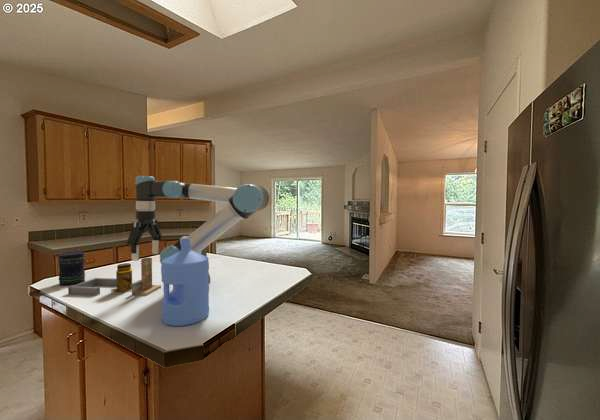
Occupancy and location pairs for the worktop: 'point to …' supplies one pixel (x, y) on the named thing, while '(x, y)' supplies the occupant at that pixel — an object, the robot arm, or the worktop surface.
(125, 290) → the condiment
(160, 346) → the worktop surface
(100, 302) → the worktop surface
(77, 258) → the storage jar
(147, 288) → the scraper
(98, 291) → the tray
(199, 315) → the water jug
